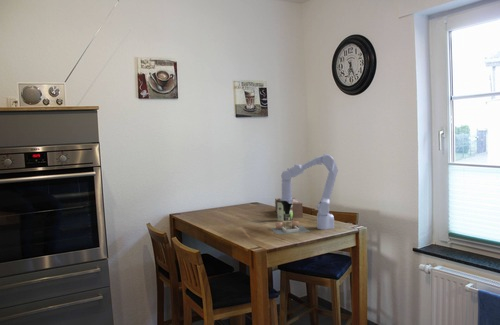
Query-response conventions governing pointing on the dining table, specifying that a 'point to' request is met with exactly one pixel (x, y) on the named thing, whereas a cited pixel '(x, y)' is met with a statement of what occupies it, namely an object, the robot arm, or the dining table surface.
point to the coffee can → (281, 212)
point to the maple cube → (287, 224)
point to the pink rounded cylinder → (295, 224)
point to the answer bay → (291, 229)
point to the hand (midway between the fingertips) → (287, 213)
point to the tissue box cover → (294, 208)
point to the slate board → (280, 231)
